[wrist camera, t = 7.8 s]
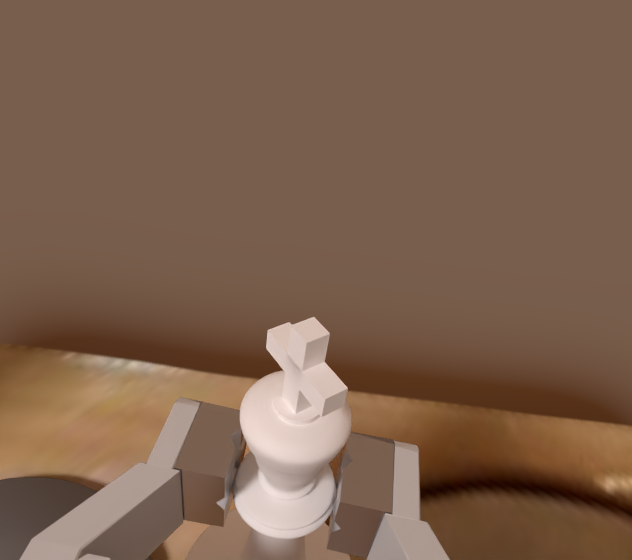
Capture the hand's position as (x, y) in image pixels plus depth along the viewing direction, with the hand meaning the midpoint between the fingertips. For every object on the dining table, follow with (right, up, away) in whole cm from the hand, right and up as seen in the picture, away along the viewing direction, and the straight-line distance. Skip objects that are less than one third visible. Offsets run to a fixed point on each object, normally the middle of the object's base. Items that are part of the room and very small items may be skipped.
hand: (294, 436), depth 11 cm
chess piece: (-1, -5, +3) cm, 6 cm away
